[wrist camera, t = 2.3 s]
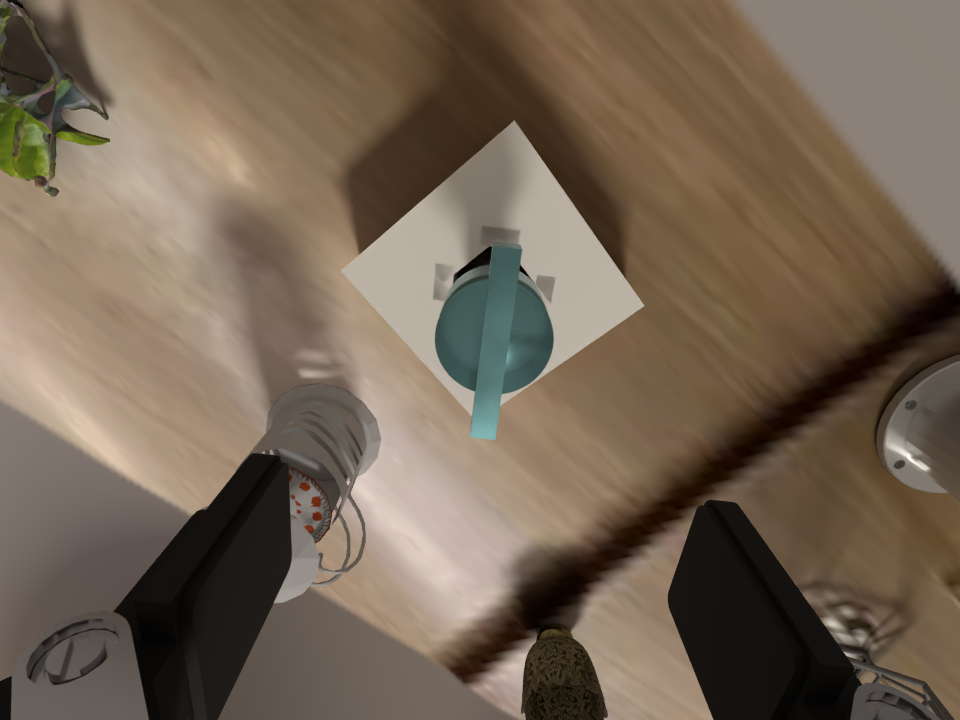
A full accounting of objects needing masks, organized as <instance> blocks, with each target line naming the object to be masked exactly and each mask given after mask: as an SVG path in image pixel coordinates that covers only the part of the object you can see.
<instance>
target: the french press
mask: <svg viewBox="0 0 960 720" xmlns="http://www.w3.org/2000/svg"><path fill="white" fill-rule="evenodd" d="M380 442H381V437H380V433H379V429H378V425H377V421H376V419H375V417H374V416H373V415H372V413H371V412H370V411H369V409H368V408H367V407H366V405H365V404H364V403H363V402H362V401H361V400H359V399H358V398H356V397H355V396H353V395H351V394H350V393H348V392H347V391H345V390H344V389H340V388H336V387H332V386H328V385H324V384H312V385H304V386H297V387H295V388H294V389H292V390H290V391H288V392H287V393H285V394H283V395H281V396H280V397H279V398H278V399H277V401H276V402H275V404H274V405H273V407H272V408H271V410H270V411H269V413H268V420H267V429H266V434H265V435H264V436H263V438H262V439H261V440H260V441H259V442H258V444H257V445H256V446H255V447H254V449H253V450H252V451H251V452H250V454H252V453H259V454H262V452H263V451H265V454H269V455H270V452H269V450H272V451H273V455H278V456H279V457H280V459H281V462H282V463H287V464H288V468H289V491H290V516H291V540H292V561H291V566H290V569H289V572H288V574H287V576H286V578H285V580H284V582H283V585H282V587H281V589H280V591H279V593H278V595H277V597H276V599H275V601H274V603H283V602H285V601H288V600H290V599H292V598H294V597H296V596H298V595H301V594H303V593H304V591H305V590H306V589H307V588H308V587H309V586H315V587H321V586H326V585H330V584H331V583H333V582H334V581H336V580H337V579H338V578H339V577H340V576H341V575H342V574H343V573H345V572H348V571H349V570H350V569H351V568H353V567H354V566H355V565H356V564H357V563H358V562H359V560H360V559H361V557H362V553H363V550H364V546H365V543H366V533H365V523H364V520H363V517H362V515H361V512H360V510H359V508H358V507H357V505H356V503H355V502H354V500H353V498H352V497H351V494H350V493H351V490H352V488H353V485H354V483H355V480H356V478H357V476H359V475H361V474H363V473H365V472H366V471H367V470H368V469H369V467H370V466H371V465H372V464H373V462H374V461H375V460H376V459H377V456H378V451H379V447H380ZM250 454H249V455H250ZM249 455H248V456H249ZM248 456H247V457H246V458H245V460H246V459H247V458H248ZM245 460H244V461H245ZM244 461H243V462H242V464H243V463H244ZM242 464H241V465H242ZM241 465H240V466H241ZM240 466H239V468H240ZM239 468H238V469H239ZM238 469H237V470H238ZM237 470H236V471H237ZM347 481H350V483H349V486H348V485H347ZM340 495H341V498H342V502H341V504H340V506H339V509H337V507H336V504H337V502H338V500H339V497H340ZM347 497H348V499H349V500H350V502H351V504H352V505H353V507H354V509H355V510H356V512H357V514H358V517H359V519H360V521H361V524H362V531H363V537H362V545H361V548H360V551H359V554H358V557H357V558H356V560H355V561H354V562H353V563H352V564H351V565H350V566H348V567H347V568H346V565H347V563H348V560H349V557H350V533H349V530H348V528H347V525H346V522H345V520H344V519H343V517H342V515H341V514H340V513H341V510H342V508H343V506H344V503H345V501H346V499H347ZM208 507H209V506H207V507H205V508H203V509H205V510H206V509H207V508H208ZM333 510H335V511H336V516H335V518H334V520H333V523H334V522H335V520H336V519H337V518H338V517H339V519H340V521H341V522H342V524H343V527H344V529H345V532H346V534H347V554H346V559H345V561H344V564H343V566H342V569H340V570H336V571H332V570H328V569H324V568H323V567H322V565H321V561H322V558H323V553H319V554H318V551H317V548H316V545H315V543H317V542H319V541H320V540H321V539H322V537H323V536H324V535H325V534H326V532H327V531H328V530H329V529H330V523H331V517H332V512H333ZM333 523H332V524H333ZM318 568H319V570H320V571H321V572H322V573H327V574H333V575H336V576H334V577H333V578H332V579H330V580H329V581H324V582H320V583H314V582H313V581H314V580H315V579H316V574H317V570H318Z"/></svg>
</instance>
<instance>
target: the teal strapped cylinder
mask: <svg viewBox="0 0 960 720" xmlns="http://www.w3.org/2000/svg"><path fill="white" fill-rule="evenodd" d="M521 255H522V247H521V245H519V244H510V243H502V242H493V245H492V252H488V253H485V254H483V255H482V256H480V257H479V258H478V259H477V261H476V262H475V265H474V268H473V269H472V270H470V271H468V272H466V273H465V274H463V275H462V276H461V277H460V278H458V279H457V280H456V281H455V283H454V284H453V285H452V286H451V288H450V290H449V291H448V293H447V295H446V298H445V301H444V304H443V307H442V310H441V313H440V316H439V319H438V322H437V325H436V330H435V348H436V352H437V356H438V358H439V361H440V363H441V365H442V366H443V368H444V370H445V371H446V372H447V373H448V375H449V376H450V377H451V378H452V379H453V380H455V381H456V382H457V383H458V384H460V385H462V386H463V387H465V388H467V389H469V390H472V391H474V392H475V395H474V404H473V412H472V420H471V431H470V437H474V438H483V439H492V440H495V437H496V430H497V423H498V416H499V409H500V402H501V395H502V394H506V393H510V392H514V391H517V390H519V389H521V388H523V387H525V386H527V385H528V384H530V383H531V382H532V381H534V380H535V379H536V378H537V377H538V376H539V375H540V374H541V373H542V371H543V370H544V369H545V367H546V365H547V363H548V362H549V359H550V357H551V354H552V350H553V343H554V333H553V327H552V324H551V320H550V317H549V315H548V312H547V309H546V306H545V304H544V301H543V298H542V295H541V293H540V291H539V289H538V288H537V286H536V285H535V284H534V283H533V281H532V280H531V279H530V278H529V277H527V276H526V275H525V274H523V273H522V272H520V271H519V269H520V262H521Z"/></svg>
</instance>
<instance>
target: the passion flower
mask: <svg viewBox="0 0 960 720" xmlns="http://www.w3.org/2000/svg"><path fill="white" fill-rule="evenodd" d="M11 16H17V17H21V18H23V19H24V21H25V22H26V23H27V25H28V26H29V28H30V30H31V32H32V35H33V37H34V39H35V41H36V43H37V45H39V47H40V48H41V49H42V51H43V53H44V54H45V56H46V58H47V60H48V62H49V64H50V65H51V67H52V69H53V74H52V77H51V78H50V79H49V80H48V81H41V80H37V79H34V78H32V77H29V76H27V75H24V74H20V73H17V72H14V71H11V70H8V69H6V68H4V67H1V61H2V56H3V49H4V44H5V42H6V40H7V36H6V34H5V27H6V24H7V22H8V19H9V18H10V17H11ZM2 70H3V71H6V72H9V73H11V74H14V75H17V76H19V77H21V78H23V79H26V80H28V81H30V82H32V83H33V84H34V86H35V90H34V91H33V92H32V93H30V94H25V95H18V94H15V93H13V92H12V91H11V90H10V89H9V87H8V86H7V83H6V81H5V78H4V75H3V72H2ZM51 91H54V92H55V97H54V106H53V109H52V111H51V113H49V114H44V113H42V112H41V110H40V108H39V107H38V105H37V102H38V99H39V98H40V97H41V96H42V95H43V94H46V93H48V92H51ZM63 108H66V109H70V110H78V109H81V108H84V109H90V110H93V111H95V112H97V113H99V114H100V115H101V116H102V117H103V118H104V119H106V120H108V118H109V117H108V116H107V115H105V114H104V113H103V112H102V111H101V110H100V109H99V108H98V107H97V106H96V105H94V104H93V103H92V102H91V101H89V100H88V99H87V98H86V97H85V96H84V95H83V94H82V93H81V92H80V91H79V90H78V89H77V87H76V85H75V83H74V81H73V79H72V77H70V76H69V75H68V74H66V73H64V72H63V71H62V70H61V69H60V68H59V67H58V65H57V64H56V62H55V60H54V59H53V57H52V55H51V53H50V52H49V50H48V49H47V47H46V45H45V44H44V42H43V40H42V39H41V37H40V35H39V33H38V32H37V30H36V28H35V25H34V22H33V21H32V19H31V18H30V17H29V15H28V13H27V11H26V10H25V8H24V7H23V4H22V3H21V2H20V1H19V0H0V169H1V170H2V171H4V172H6V173H7V174H9V175H10V176H12V177H18V178H21V179H26V180H27V181H30V180H33V179H34V180H35V185H36V186H37V187H40V188H41V189H42V190H43V191H45V192H46V193H47V194H48V195H49V196H50V197H55V196H56V195H57V194H58V193H59V190H58V189H57V188H54V187H50V186H49V185H48V184H49V183H50V182H51V181H52V179H53V178H54V176H55V166H56V163H55V160H56V137H58V138H60V139H63V140H67V141H72V142H75V143H78V144H83V145H101V144H104V143H107V142H110V139H108V138H103V137H99V136H96V135H92V134H88V133H84V132H81V131H79V130H77V129H75V128H73V127H71V126H70V125H68V124H67V123H66V122H65V121H64V120H63V119H62V118H61V115H60V110H61V109H63ZM49 134H51V138H50V139H49ZM48 174H50V177H49V180H48V181H47V180H46V178H45V177H43V176H46V175H48Z"/></svg>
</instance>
